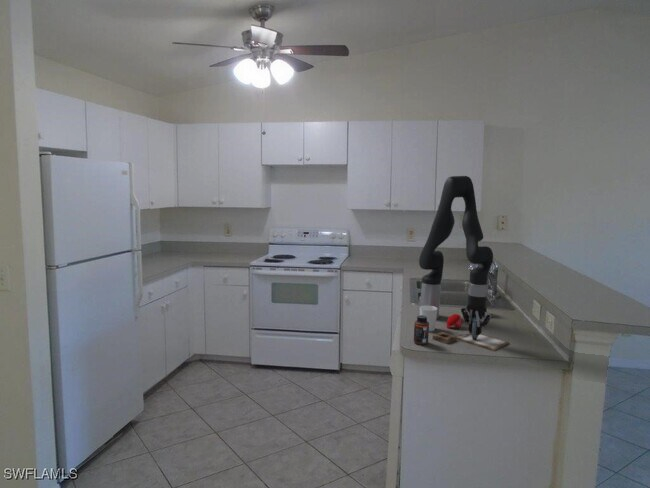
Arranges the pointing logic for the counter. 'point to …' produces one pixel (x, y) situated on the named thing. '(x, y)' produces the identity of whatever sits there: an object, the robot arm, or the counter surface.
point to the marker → (474, 329)
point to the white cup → (429, 315)
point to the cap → (454, 321)
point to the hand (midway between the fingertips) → (474, 333)
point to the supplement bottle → (421, 330)
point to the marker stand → (444, 337)
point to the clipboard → (482, 341)
